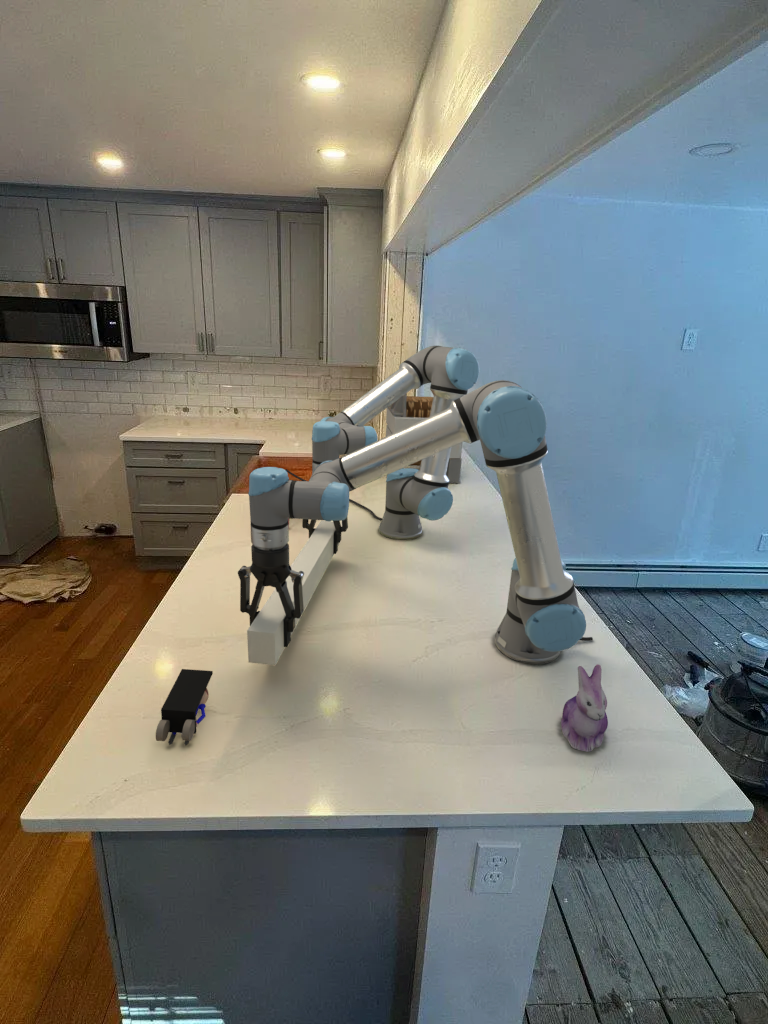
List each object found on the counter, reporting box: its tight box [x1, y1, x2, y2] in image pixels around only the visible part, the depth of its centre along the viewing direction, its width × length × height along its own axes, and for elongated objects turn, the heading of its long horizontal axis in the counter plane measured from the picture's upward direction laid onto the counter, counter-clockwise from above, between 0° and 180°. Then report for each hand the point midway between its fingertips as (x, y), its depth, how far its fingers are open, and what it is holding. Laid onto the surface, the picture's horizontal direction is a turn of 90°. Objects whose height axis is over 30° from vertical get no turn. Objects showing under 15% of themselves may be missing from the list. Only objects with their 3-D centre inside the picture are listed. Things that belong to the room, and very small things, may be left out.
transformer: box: [385, 392, 464, 484], centre depth 268 cm, size 34×33×41 cm
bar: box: [246, 520, 340, 666], centre depth 145 cm, size 64×6×8 cm, turn 173°
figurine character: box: [155, 668, 214, 746], centre depth 105 cm, size 7×8×15 cm
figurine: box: [560, 663, 609, 753], centre depth 105 cm, size 9×10×15 cm
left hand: (324, 551), depth 169 cm, fingers closed on bar, 6 cm apart
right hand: (272, 641), depth 123 cm, fingers closed on bar, 6 cm apart
